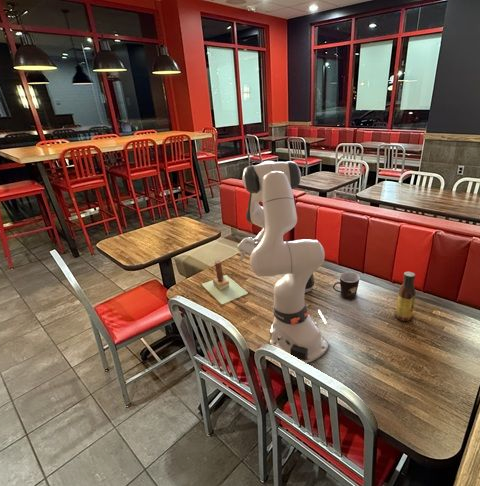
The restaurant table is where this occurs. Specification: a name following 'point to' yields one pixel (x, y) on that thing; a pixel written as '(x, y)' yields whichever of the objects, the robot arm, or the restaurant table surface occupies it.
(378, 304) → the restaurant table surface
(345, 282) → the coffee mug
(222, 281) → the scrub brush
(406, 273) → the sauce bottle
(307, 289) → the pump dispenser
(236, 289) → the scrub mat
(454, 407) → the restaurant table surface
